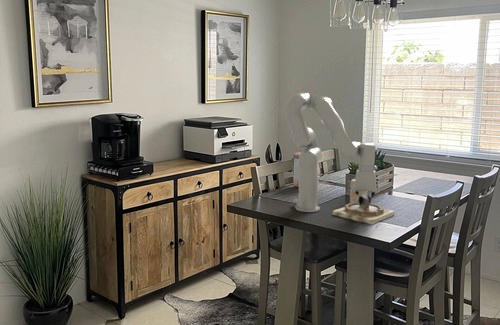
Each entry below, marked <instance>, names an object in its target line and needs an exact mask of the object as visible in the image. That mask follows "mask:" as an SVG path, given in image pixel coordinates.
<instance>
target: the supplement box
mask: <svg viewBox="0 0 500 325" xmlns="http://www.w3.org/2000/svg"><path fill="white" fill-rule="evenodd" d="M355 179H356V178H352V179H351V180H350V188H349V189H350V190H349V191H350V192H349V203H352V202H359V196H358V195H357V194H356V193H355V192H353V191H352V188H353V187H354V185H355ZM358 192H359V191H358ZM361 195H365V196H366V197H367V198H368V191H361Z"/></svg>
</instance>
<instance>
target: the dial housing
mask: <svg viewBox="0 0 500 325" xmlns="http://www.w3.org/2000/svg"><path fill="white" fill-rule="evenodd" d="M353 205H359V202H352V203H350V202H349V203H347V204H345V205H344V206H343V207H340V208H338V209H333V210H332V215H333V216H336V217H341V218H344V219H349V220H353V221H356V222H360V223H361V222H362V223H365V224H369V225H374V224H376V223H379V222H382V221H383V220H386V219H388V218H390V217H393V216H395V212H396V211H395V210H391V209H387V208H383V207H382V206H381V205H380V204H377V203H369V205H370V206H374V207H376V208H378V209H377V211H358V210H356V209H355V210H353V209H350V206H353Z"/></svg>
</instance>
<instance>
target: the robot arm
mask: <svg viewBox="0 0 500 325" xmlns="http://www.w3.org/2000/svg"><path fill="white" fill-rule="evenodd" d="M303 110H308V111H311V112H315V114H316V115H317V117H318V118H319V120H320V122H321V123H322V124H323V125H324V127H325V129H326V130H327V132H328V134H329V136H330V138H331V139H332V141H333V143H334V145H335V147H336V148H337V149H338V152H339V153H340V154H341V155H342V157H344V158H345V159H347V160H353V159H354V158H356V157H358V169H357V170H356V172H355V178H354V179H355V185H354V187H353V188H352V191H353V192H355V193H356V194H357V195H358V196H359V203H360V205H361V202H362V196H361V191H367V192H368V195H367V198H369V203H371V202H372V201H371V200H372V197H373V196H375V195H376V194H378V193H380V190H379V188H378V187H377V172H376V170H378V166H377V165H375V159H376V145H375V144H374V143H372V142H357V141H352V140H351V139H350V137H349V136H348V133H347V132H346V130H345V125H344V122H343V120H342V118H341V117H340V115H339V114H338V112H337V111H336V109H335V108H334V103H333V101H332V99H331V98H329V97H328V96H323V95H318V94H313V93H309V92H298V93H295V94H293V95H292V96H290V97H289V98H288V100H287V101H286V103H285V106H284V116H285V118H286V119H285V120H286V121H287V125H288V129H289V130H290V133H291V136H292V140H293V143H294V144H295V145H296V147H298V148H301V154H300V156H299V187H298V198H297V197H296V198H294V199H293V201H292V202H293V203H295V204H296V205H295V208H294V209H295V210H296V211H298V212H303V213H315V212H319V211H320V209H321V208H320V206H319V205H318V186H319V185H318V184H319V181H318V180H319V170H318V164H319V163H320V161H321V160H322V157H323V154H322V150H321V146H320V144H319V141H318V138H317V136H316V133H315V131H314V130H313V129H312V128H311V127H309V126H307V124H306V120H305V118H304V116H303V113H302V111H303ZM358 191H359V192H358Z"/></svg>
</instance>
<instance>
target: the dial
mask: <svg viewBox="0 0 500 325" xmlns="http://www.w3.org/2000/svg"><path fill="white" fill-rule="evenodd" d="M361 196H362V202H361V205H360V203H359V205H353V206H350V209H353V210H355V209H356V210H358V211H377V209H378V208H376V207H374V206H370V205H369V198H368V196H367V197H366V196H365V195H361Z"/></svg>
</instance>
